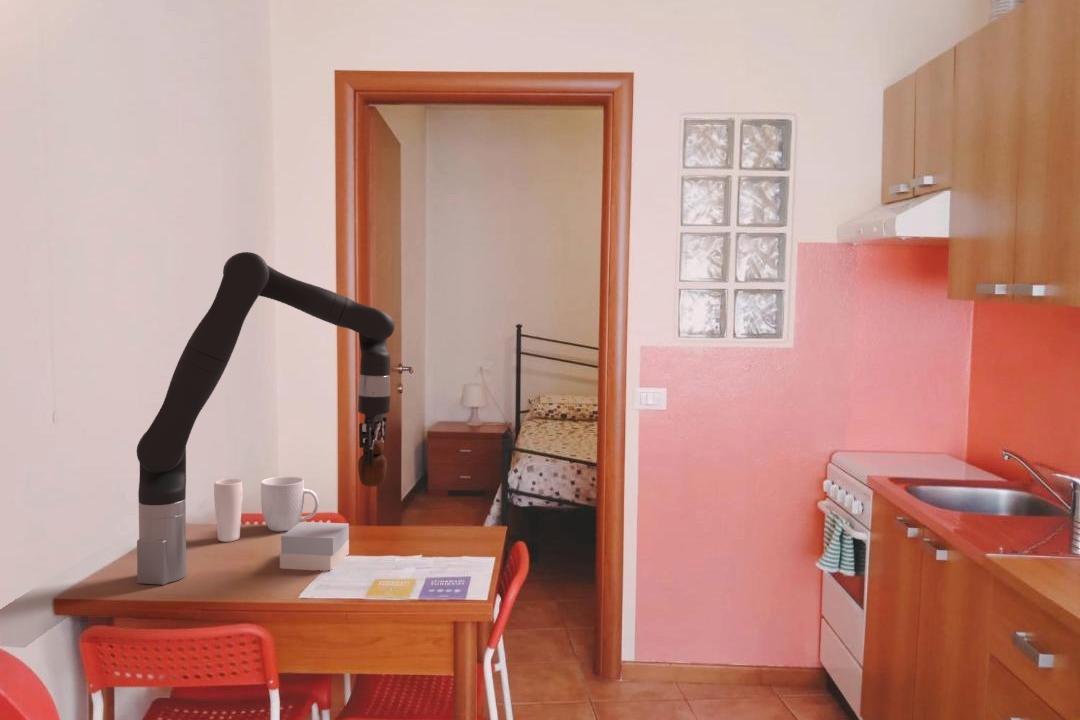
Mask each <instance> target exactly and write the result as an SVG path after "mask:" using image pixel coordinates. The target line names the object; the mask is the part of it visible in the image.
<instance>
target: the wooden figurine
mask: <svg viewBox="0 0 1080 720" xmlns="http://www.w3.org/2000/svg"><path fill="white" fill-rule="evenodd" d="M366 443H367V442H366ZM384 447H385V445H384V443H383V442H382V441H381V438H380V433H378V436H377V440H376V441H375V442H374V448H373V464H372V465H364V464H363V454H361V456H360V457H359V459H358V462H357V468H358V469H357V471H358V477H359V481H360V483H361V484H362V486H365V487H378V486H381V485H382V484H384V481H385V478H386V474H387V467H388V461H387V458H386V457H385V455H384V454H383V452H384ZM381 453H382V455H381Z"/></svg>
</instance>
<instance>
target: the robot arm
mask: <svg viewBox="0 0 1080 720" xmlns="http://www.w3.org/2000/svg"><path fill="white" fill-rule="evenodd" d="M222 273H223V275H222V279H221V282H220V283H219V287H218V290H217V293H216V294H215V297H214V299H213V302H212V304H211V305H210V307H209V309H208V310H207V312H206V313H205V314H204V316H203V317H202V318H201V321H200V322H199V323H198V324H197V326H196V328H195V329H194V330H193V332H192V334H191V336H190V337H189V340H187V343H186V345H185V347H184V348H183V351H182V353H181V356H180V357H179V359H178V362H177V363H176V366H175V369H174V371H173V374H172V376H171V378H170V379H171V380H170V382H169V386H168V389H167V392H166V395H165V397H164V400H163V403H162V404H161V407H160V409H159V411H158V412H157V414H156V416H155V417H154V419H153V420H152V423H151V424H150V426H149V428H147V430H146V432H144V434H143V435H142V436H141V437H140V440H139V441H138V442H137V443H138V444H137V446H136V457H137V460H138V462H139V483H138V493H137V494H138V539H137V541H136V560H137V561H136V565H137V566H136V567H137V568H136V570H137V571H136V574H137V576H136V577H137V579H136V580H137V584H145V585H158V586H159V585H162V586H163V585H167V584H170V583H173V582H176V581H178V580H182V579H183V578H185V577H186V576H187V527H186V526H187V521H186V519H187V517H186V516H187V514H186V511H187V510H186V509H187V507H186V505H187V503H186V502H187V501H186V499H187V498H186V497H187V496H186V493H187V490H186V489H187V487H186V486H187V444H188V441H189V438H190V435H191V433H192V430H193V428H194V425H195V423H196V421H197V419H198V416H199V414H200V413H201V411H202V410H203V408H204V407H205V405H206V403H207V402H208V400H209V399H210V397H211V396H212V394H213V392H214V391H215V390H216V387H217V385H218V384H219V382H220V380H221V378H222V376H223V375H224V372H225V370H226V368H227V366H228V364H229V362H230V359H231V357H232V354H233V352H234V350H235V348H236V345H237V342H238V339H239V336H240V334H241V331H242V327H243V324H244V322H245V320H246V318H247V316H248V314H249V312H250V311H251V308H252V307H254V306H253V305H254V303H256V301H257V299H258V297H263V298H267V299H270V300H274V301H277V302H280V303H282V304H285V305H287V306H290V307H292V308H294V309H296V310H299V311H301V312H303V313H305V314H307V315H310V316H311V317H314V318H316V319H319V320H321V321H323V322H326V323H329V324H331V325H334V326H337V327H340V328H344V329H349V330H351V331H353V332H356V333H358V338H359V349H360V366H359V369H360V370H359V382H358V397H357V399H358V400H357V401H358V403H357V411H358V413H359V414H362V415H364V421H363V423H362V422H360V423H358V424H359V425H358V432H359V436H358V437H359V440H358V441H359V442H358V443H359V448H360V449H362V453H363V454H362V455H363V464H364V465H372V464H373V448H374V442H375V441H376V440H377V436H378V433H380V438H381V441H382V442H383V444H384V442H386V440H387V428H388V427H387V424H388V417H387V416H383V415H387V414H390V411H391V387H392V386H391V376H390V375H391V356H390V354H389V353H390V352H389V351H388V339H389V338H390V337H391V336H392V335H393V333H394V332H395V321H394V319H393V318H392V316H391V315H390V314H389V313H387V312H385V311H383V310H380V309H377V308H375V307H372V306H369V305H366V304H362V303H359V302H357V301H354V300H353V299H351V298H348V297H346V296H344V295H341V294H338V293H336V292H334V291H331V290H330V289H327V288H324V287H320V286H317V285H314V284H312V283H309V282H308V283H307V282H305V281H302V280H299V279H295V278H294V277H291V276H289V275H286V274H284V273H282V272H280V271H278V270H276V269H274V268H273V267H271V266H270V265H268V263H266V260H264V258H263V257H262V256H261V255H259V254H257V253H254V252H249V251H243V252H239V253H238V252H237V253H235V254H233V255H232V256H230V257H229V258H228V259H227V260H226V262H225V263H224V266H223V269H222ZM366 442H367V443H366ZM381 455H383V452H382V453H381Z"/></svg>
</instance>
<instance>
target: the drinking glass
mask: <svg viewBox="0 0 1080 720" xmlns="http://www.w3.org/2000/svg"><path fill="white" fill-rule="evenodd" d="M213 484H214V485H213V492H214V493H213V498H214V501H213V502H214V509H215V520H216V528H217V529H216V530H217V540H218V541H220V542H222V543H229V542H235V541H238V540H239V539H240V537H241V521H242V509H243V508H242V507H243V500H244V499H243V497H244V493H243V492H244V490H243V488H244V487H243V486H244V483H243V480H242V479H238V478H224V479H219V480H216V481H215V482H214V483H213Z"/></svg>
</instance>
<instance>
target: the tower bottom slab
mask: <svg viewBox="0 0 1080 720" xmlns="http://www.w3.org/2000/svg"><path fill="white" fill-rule="evenodd" d="M348 554H349V555H350V539H349V540H348V541H347V542H346V543H345V544H344V545H343V546H342V547H341V548H340V549H339V550H338V551H337V552H336V553H335V554H334V555H308V554H282V553H281V552H280V553H279V569H284V570H286V569H287V570H304V571H317V570H320V571H321V570H331V569H332V568H333V567H334V566H335V565H336V564H338V563H339V562H340V561H341V560H342V559H343V558H344V557H345V556H346V555H348ZM349 555H348V556H349ZM344 559H345V558H344ZM344 559H343V560H344ZM343 560H342V561H343ZM342 561H341V562H342ZM341 562H340V563H341ZM340 563H339V564H340ZM339 564H338V565H339ZM332 570H333V569H332ZM332 570H331V571H332ZM321 572H322V571H321Z"/></svg>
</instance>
